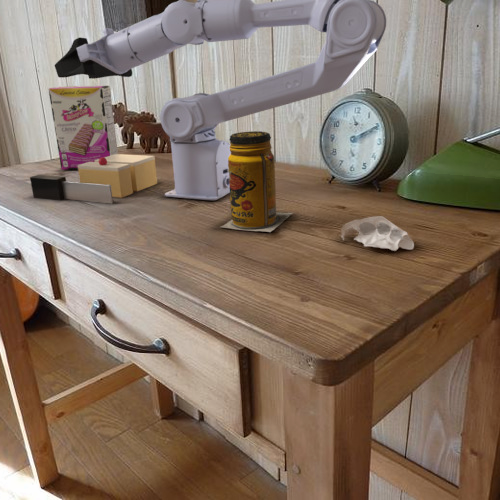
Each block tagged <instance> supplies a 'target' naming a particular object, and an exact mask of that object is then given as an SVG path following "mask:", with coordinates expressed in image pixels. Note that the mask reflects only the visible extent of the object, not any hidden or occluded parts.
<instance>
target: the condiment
mask: <svg viewBox="0 0 500 500" xmlns="http://www.w3.org/2000/svg"><path fill="white" fill-rule="evenodd" d="M271 139H272V136H271V134H270V132H266V131H262V130H261V131H259V130H257V131H253V130H252V131H241V132H236V133H235V132H234V133H231V135H230V136H229V144H230V151H231V154H230V156H229V157H228V167H229V170H228V172H229V184H230V187H229V188H230V193H229V200H230V201H229V202H230V214H231V220H229V221H227V223H225V224H223V225H221V228H223V229H231V230H239V231H247V232H249V231H250V232H267V233H271V232H273V231H274V230H276V229H277V228H278V227H280V225H282V224H283V223H284V222H285V220H287V219H289V217H290V216H291V215H293V212H277V198H276V196H277V195H276V193H277V192H276V167H275V163H276V162H275V155H274V154H273V151H272V144H271Z"/></svg>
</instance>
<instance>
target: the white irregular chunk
mask: <svg viewBox="0 0 500 500" xmlns="http://www.w3.org/2000/svg"><path fill="white" fill-rule="evenodd" d="M340 234H341V236H340V237H341V240H342V241H345V236H352V235H355V234H357V235H356V236H355V237H354V238H353V241H356V242H358V243H362V244H363V247H373V248H380V249H387V250H388V249H389V250H391V251H394V252H396V251H397V250H398V249H399V248H401V249H403V250H404V249H405V250H409V251H410V250H414V248H415V242H414V241H413V239H412V238H411V236H410V234H409V233H408V232H407V231H406V230H404V229H402V228H401V227H399V226H397V225H396V224H394V222H391V221H390V220H389V219H387V218H386V217H385V216H382V215H374V216H369V217H363V218H361V219H353V220H350V221H348V222H346V223H344V224H343V225H342V226H341V229H340Z"/></svg>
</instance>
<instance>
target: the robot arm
mask: <svg viewBox="0 0 500 500" xmlns="http://www.w3.org/2000/svg"><path fill="white" fill-rule="evenodd" d="M293 26H310V27H312V28H313V29H315V30H317V31H318V32H320V33H325V42H324V44H323V46H322V48H321V51H320V52H319V54H318V57H317V59H316V61H315V62H312V63H308V64H305V65H303V66H302V65H301V66H299V67H295V68H292V69H289V70H287V71H283V72H280V73H275V74H273V75H270V76H266V77H263V78H261V79H257V80H254V81H250V82H248V83H244V84H241V85H238V86H233V87H231V88H228V89H225V90H222V91H218V92H215V93H211V94H209V93H205V92H199V93H195V94H193V95H189V96H185V97H174V98H170V99H169V100H167V101H166V102H165V103H164V104H163V106H162V107H161V111H160V116H159V117H160V118H159V119H160V124H161V127H162V129H163V132H165V134H166V136H168V137H169V142H170V148H171V149H170V150H171V160H172V169H173V180H174V189H171V190H170V191H167V192H165V193H164V197H169V198H178V199H179V198H181V199H190V200H199V201H210V202H211V201H212V202H214V201H217V200H219V199H221V198H223V197H224V196H226V195H229V194H230V188H229V187H230V184H229V172H228V170H229V167H228V157H229V156H230V154H231V151H230V145H231V144H230V142H228V141H227V140H220V139H218V138H217V136H216V130H215V129H216V127H217V126H218V125H219V124H222V123H225V122H229V121H232V120H235V119H239V118H243V117H246V116H251V115H254V114H257V113H261V112H264V111H268V110H271V109H275V108H279V107H282V106H285V105H289V104H294V103H297V102H299V101H303V100H308V99H311V98H314V97H318V96H322V95H325V94H329V93H331V92H335V91H337V90H338V91H339V90H340V89H342V88H344V87H345V86H346V85H347V84H348V82H350V80H352V78H353V77H354V75H355V74H357V72H358V71H359V70H360V69H361V68H362V66H364V64H365V63H366V62H367V61H368V59H369V58H370V57H371V56H372V55H374V54H375V53H376V51H378V48H379V46H380V44H381V41H382V39H383V36H384V34H385V31H386V28H387V15H386V13H385V11H384V9H383V7H382V6H381V5H380V4H379V3H378V2H376V1H375V0H275V1H269V2H263V3H255V2H254V1H252V0H197V1H196V2H190V1H188V0H177V1H173V2H171V3H170V4H168V6H166V7H165V9H164V11H162V12H161V13H158V14H154V15H152V16H150V17H148V18H145V19H143V20H141V21H138V22H136V23H134V24H132V25H130V26H127V27H125V28H122V29H120V30H118V31H114V29H113V28H111V27H105V28H103V29H102V33H103V36H102V37H100V38H98V39H96V40H95V41H92V42H91V43H89V42H88V39H87V37H77V38H75V39H73V42H72V44H71V46H70V48H69V50H67V52H66V53H65V55H64V56H62V57H61V58H60V59H59V60H58V61H57V62H55V64H54V68H55V72H56V74H57V78H70V77H74V76H80V75H85V76H87V77H88V79H91V80H95V79H102V78H108V77H123V78H130V77H132V76H133V70H132V69H134V68H136V67H139V66H141V65H144V64H147V63H149V62H151V61H154V60H156V59H159V58H161V57H164V56H167V55H169V54H171V53H173V51H176V50H178V49H181V48H184V46H187V45H194V46H199V45H203V44H204V43H205V42H207V43H217V42H226V41H227V42H228V41H241V40H249V39H251V37H252V36H253V35H254V34H255V32H256V31H257V30H258V29H262V28H263V29H264V28H276V27H278V28H279V27H293Z"/></svg>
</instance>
